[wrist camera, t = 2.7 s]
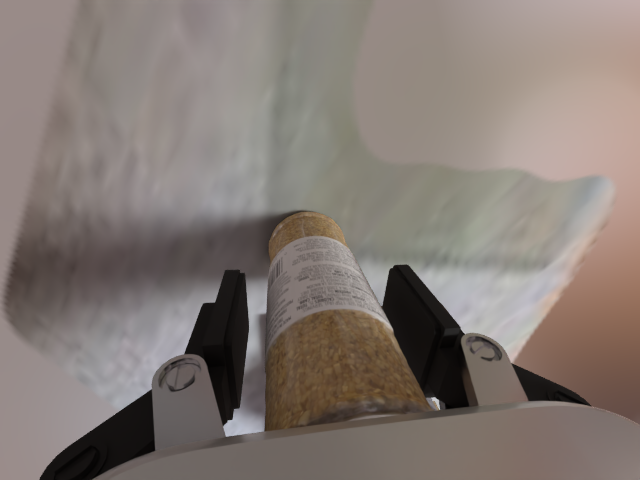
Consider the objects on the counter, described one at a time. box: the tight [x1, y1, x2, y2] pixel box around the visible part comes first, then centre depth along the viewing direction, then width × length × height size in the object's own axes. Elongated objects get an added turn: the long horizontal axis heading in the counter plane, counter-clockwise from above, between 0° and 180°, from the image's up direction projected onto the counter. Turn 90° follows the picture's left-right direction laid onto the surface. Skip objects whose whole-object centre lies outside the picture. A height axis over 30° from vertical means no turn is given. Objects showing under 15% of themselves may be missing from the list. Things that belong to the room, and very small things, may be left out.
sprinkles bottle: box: [264, 212, 434, 432], centre depth 10 cm, size 5×5×13 cm
